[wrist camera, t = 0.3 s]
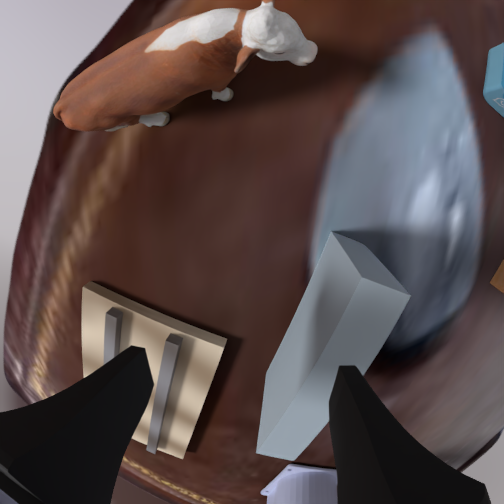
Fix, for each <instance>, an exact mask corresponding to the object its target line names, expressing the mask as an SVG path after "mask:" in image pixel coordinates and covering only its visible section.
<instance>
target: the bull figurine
mask: <svg viewBox="0 0 504 504" xmlns="http://www.w3.org/2000/svg"><path fill="white" fill-rule="evenodd" d="M274 4H275V0H262V3H261V6H260V7H258V8H256V9H253V10H244V9H238V8H224V9H215V10H212V11H209V12H206V13H201V14H196V15H190V16H186V17H183V18H180V19H178V20H175V21H173V22H171V23H169V24H167V25H166V26H164V27H161V28H158V29H155V30H153V31H151V32H149V33H147V34H145V35H143V36H140V37H138V38H136V39H135V40H133V41H131V42H129V43H127V44H126V45H124V46H122V47H121V48H119V49H118V50H116V51H114V52H113V53H111V54H110V55H108V56H106V57H105V58H103V59H102V60H100V61H98V62H96V63H94V64H93V65H91V66H90V67H88V68H87V69H86V70H84V71H83V72H82V73H80V74H79V75H78V76H77V77H76V78H74V79H73V80H72V81H71V82H70V83H69V84H68V85H67V86H66V88H65V89H64V90H63V92H62V94H61V97H60V100H59V101H58V102H57V103H56V105H55V107H54V115H55V116H56V117H57V118H58V119H59V120H62V121H63V122H64V124H65V125H66V126H67V127H68V128H70V129H73V130H79V131H115V130H117V129H120V128H125V127H128V125H130V126H131V125H135V124H138V123H143V124H146V125H147V126H148V127H151V126H152V125H156V126H164V125H166V124H167V123H168V122H169V114H168V113H167V112H162V111H164V110H167V109H169V108H171V107H173V106H175V105H177V104H178V103H180V102H181V101H183V100H184V99H185V98H186V97H189V96H191V95H194V94H197V93H199V92H202V91H205V90H209V89H210V90H212V93H213V94H212V98H213V99H214V100H215V99H220V100H222V101H229V100H231V98H232V97H233V91H232V89H230V88H227V85H228V84H229V83H230V81H231V80H232V79H233V78H234V77H235V76H236V74H237V73H239V72H241V71H242V70H243V69H244V68H245V67H246V66H247V65H248V63H249V61H250V60H251V59H253V57H254V56H255V55H257V56H259V57H260V58H262V59H265V60H269V61H283V60H289V61H290V62H291V63H293V64H295V65H299V66H306V65H308V64H309V63H311V62H313V60H314V59H315V57H316V54H317V49H318V48H317V45H316V44H315V43H314V42H312V41H309V40H306V38H305V37H304V36H303V34H302V31H301V30H300V28H299V26H298V24H297V23H296V21H295V20H294V19H293V18H291V17H290V16H289V15H288V14H287V13H284V12H280V11H278V10H276V9H275V8H274Z"/></svg>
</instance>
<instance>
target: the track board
mask: <svg viewBox="0 0 504 504" xmlns="http://www.w3.org/2000/svg"><path fill="white" fill-rule="evenodd" d="M226 341H227V339H226V338H224V337H221V336H218V335H215V334H213V333H210V332H207V331H205V330H202V329H199V328H197V327H194V326H192V325H189V324H186V323H184V322H181V321H179V320H176V319H174V318H172V317H169V316H167V315H164V314H162V313H160V312H157V311H155V310H152V309H150V308H148V307H146V306H143V305H141V304H139V303H136V302H134V301H132V300H130V299H128V298H125V297H123V296H121V295H119V294H117V293H115V292H113V291H110V290H108V289H106V288H104V287H102V286H100V285H98V284H96V283H94V282H92V281H90V282H89V283H87V284H86V285H84V286H83V292H82V356H83V373H84V378H85V377H86V376H88V375H90V374H91V373H93V372H94V371H96V370H97V369H98V368H100V367H101V366H103V365H104V364H106V363H107V362H108V361H110V360H111V359H113V358H114V357H115V356H117V355H118V354H120V353H121V352H122V351H124V350H125V349H127V348H128V347H130V346H131V345H133V346H138V347H143V348H145V349H146V354H147V358H148V362H149V366H150V370H151V374H152V377H153V381H154V387H153V390H152V394H151V397H150V400H149V403H148V405H147V408H146V410H145V412H144V414H143V416H142V418H141V420H140V422H139V424H138V426H137V428H136V430H135V432H134V434H133V436H132V438H133V439H135V440H137V441H139V442H141V443H144V444H146V445H147V451H149V452H152V453H154V454H155V453H156V450H157V449H158V450H160V451H163V452H165V453H168V454H170V455H173V456H176V457H178V458H181V459H183V457H184V454H185V451H186V449H187V446H188V444H189V441H190V438H191V436H192V433H193V430H194V428H195V425H196V422H197V420H198V417H199V414H200V412H201V409H202V406H203V404H204V401H205V398H206V396H207V393H208V390H209V388H210V385H211V382H212V380H213V377H214V374H215V371H216V369H217V366H218V363H219V361H220V358H221V355H222V353H223V350H224V347H225V344H226Z"/></svg>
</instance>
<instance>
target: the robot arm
mask: <svg viewBox="0 0 504 504" xmlns="http://www.w3.org/2000/svg"><path fill="white" fill-rule="evenodd" d="M153 387H154V381H153V377H152V374H151V370H150V366H149V362H148V358H147V354H146V349H145V348H143V347H138V346H133V345H131V346H130V347H128V348H127V349H125V350H124V351H122V352H121V353H120V354H118V355H117V356H115V357H114V358H113V359H111V360H110V361H108V362H107V363H106V364H104V365H103V366H101V367H100V368H98V369H97V370H96V371H94V372H93V373H91V374H90V375H88V376H86V377H85V378H83V379H82V380H80V381H78V382H77V383H75V384H74V385H72V386H70V387H69V388H67V389H65V390H63V391H61V392H59V393H57V394H55V395H53V396H51V397H49V398H46V399H44V400H41V401H39V402H36V403H33V404H31V405H28V406H25V407H22V408H18V409H14V410H10V411H6V412H0V504H110V503H111V498H112V493H113V489H114V486H115V482H116V478H117V475H118V471H119V468H120V465H121V462H122V459H123V456H124V453H125V451H126V449H127V446H128V444H129V442H130V440H131V438H132V436H133V434H134V432H135V430H136V428H137V426H138V424H139V422H140V420H141V418H142V416H143V414H144V412H145V410H146V408H147V405H148V403H149V400H150V397H151V394H152V390H153ZM329 425H330V432H331V438H332V445H333V451H334V458H335V465H336V470H335V469H326V468H318V467H310V466H304V465H297V464H289V465H288V466H287V467H286V468H285V469H284V470H283V471H282V472H281V473H280V474H279V475H278V476H277V477H276V478H275V479H274V480H273V481H272V482H270V483H269V484H268V485H267V486H266V487H265V488H264V489H263V490H262V491H261V494H262V495H267V496H268V497H267V504H491V501H490V498H489V495H488V492H487V489H486V486H485V484H484V483H481V482H479V481H477V480H475V479H473V478H470V477H468V476H466V475H464V474H462V473H461V472H459V471H457V470H456V469H454V468H452V467H451V466H449V465H447V464H446V463H444V462H443V461H442V460H440V459H439V458H437V457H436V456H435V455H433V454H432V453H431V452H430V451H428V450H427V449H426V448H425V447H423V446H422V445H421V444H420V443H419V442H418V441H417V440H416V439H414V438H413V437H412V436H411V435H410V434H409V433H408V432H407V431H406V430H405V429H404V428H403V427H402V425H401V424H400V423H399V422H398V421H397V420H396V419H395V418H394V416H393V415H392V414H391V413H390V412H389V410H388V409H387V408H386V407H385V405H384V404H383V403H382V401H381V400H380V399H379V398H378V396H377V395H376V394H375V392H374V391H373V389H372V388H371V387H370V385H369V384H368V382H367V381H366V380H365V378H364V377H363V375H362V374H361V372H360V371H359V369H358V368H357V367H356V366H355V365H339V368H338V372H337V375H336V379H335V382H334V386H333V389H332V392H331V395H330V399H329Z"/></svg>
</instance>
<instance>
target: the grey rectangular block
mask: <svg viewBox="0 0 504 504" xmlns="http://www.w3.org/2000/svg"><path fill="white" fill-rule="evenodd" d="M410 297H411V295H410V294H409V293H408V292H407V291H406V289H405V288H404V287H403V286H402V285H401V284H400V283H399V281H398V280H397V279H396V278H395V277H394V276H393V275H392V274H391V273H390V271H389V270H388V269H387V268H386V267H385V266H384V265H383V264H382V263H381V262H380V261H379V259H378V258H377V257H376V256H375V255H374V254H373V253H372V252H371V251H370V250H369V249H368V248H367V247H366V246H365V245H364V244H362V243H360V242H357V241H355V240H352V239H350V238H347V237H345V236H342V235H340V234H337V233H335V232H332V231H331V232H330V235H329V237H328V240H327V242H326V245H325V247H324V249H323V252H322V254H321V257H320V259H319V261H318V264H317V266H316V268H315V271H314V273H313V275H312V278H311V280H310V282H309V284H308V287H307V289H306V291H305V293H304V296H303V298H302V300H301V302H300V304H299V307H298V309H297V311H296V313H295V315H294V317H293V319H292V322H291V324H290V326H289V328H288V330H287V332H286V334H285V336H284V338H283V340H282V343H281V345H280V347H279V349H278V351H277V353H276V355H275V357H274V359H273V361H272V363H271V365H270V367H269V369H268V371H267V373H266V380H265V389H264V397H263V405H262V413H261V420H260V428H259V435H258V443H257V450H256V453H258V454H263V455H267V456H272V457H276V458H281V459H286V460H292V461H294V460H295V459H296V458H297V457H298V456H299V455H300V454H301V452H302V451H303V450H304V449H305V448H306V447H307V446H308V445H309V444H310V442H311V441H312V440H313V439H314V438H315V437H316V436H317V434H318V433H319V432H320V431H321V430H322V429H323V427H324V426H325V425H326V424H327V423H328V421H329V399H330V395H331V392H332V389H333V386H334V382H335V379H336V375H337V372H338V368H339V365H355V366H356V367H357V368H358V369H359V371H360V372H361V374H362V375H364V373H365V372H366V370H367V369H368V368H369V366H370V365H371V363H372V362H373V360H374V358H375V357H376V355H377V354H378V352H379V351H380V349H381V348H382V346H383V344H384V343H385V341H386V339H387V338H388V336H389V334H390V333H391V331H392V329H393V328H394V326H395V324H396V323H397V321H398V319H399V317H400V316H401V314H402V312H403V310H404V308H405V306H406V305H407V303H408V301H409V299H410Z"/></svg>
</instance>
